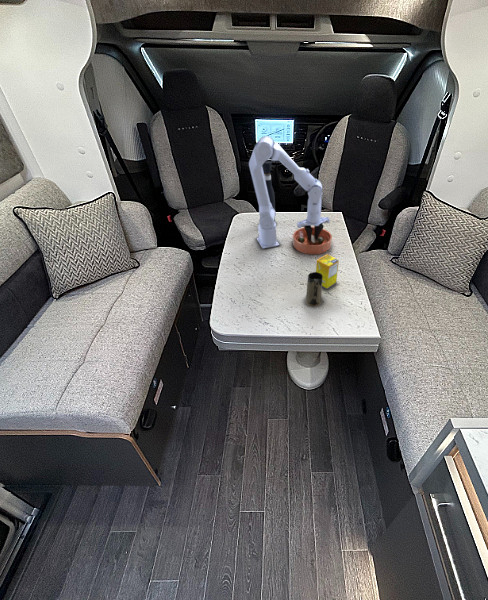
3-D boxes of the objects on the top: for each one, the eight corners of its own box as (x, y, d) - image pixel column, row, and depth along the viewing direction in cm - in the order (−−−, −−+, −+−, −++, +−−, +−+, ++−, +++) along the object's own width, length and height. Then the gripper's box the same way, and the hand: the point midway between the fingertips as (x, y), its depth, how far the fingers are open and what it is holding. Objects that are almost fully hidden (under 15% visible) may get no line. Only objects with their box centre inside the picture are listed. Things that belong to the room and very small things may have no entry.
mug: (305, 296, 125) (307, 268, 117) (320, 296, 125) (322, 269, 117) (306, 310, 119) (308, 282, 111) (322, 310, 119) (324, 282, 111)
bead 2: (315, 240, 154) (315, 238, 151) (321, 237, 154) (321, 235, 151) (319, 246, 154) (319, 244, 151) (324, 242, 154) (324, 240, 151)
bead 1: (297, 243, 152) (296, 238, 154) (302, 245, 154) (302, 240, 155) (300, 239, 150) (299, 234, 152) (306, 241, 152) (305, 236, 153)
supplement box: (324, 277, 134) (326, 253, 127) (336, 284, 131) (339, 259, 124) (314, 283, 131) (316, 259, 124) (326, 290, 128) (328, 266, 121)
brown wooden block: (306, 240, 155) (307, 235, 154) (312, 239, 156) (312, 234, 155) (313, 248, 150) (313, 242, 149) (318, 246, 151) (318, 241, 150)
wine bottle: (270, 228, 166) (268, 165, 147) (259, 224, 168) (256, 162, 149) (277, 223, 170) (276, 161, 151) (267, 220, 173) (265, 158, 154)
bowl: (287, 239, 158) (287, 230, 155) (321, 233, 162) (321, 224, 160) (301, 257, 145) (301, 248, 142) (337, 250, 150) (338, 241, 147)
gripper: (301, 217, 139) (300, 246, 147) (333, 212, 143) (331, 240, 151) (295, 210, 144) (294, 239, 152) (326, 205, 148) (324, 233, 156)
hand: (312, 239), depth 152 cm, fingers closed on brown wooden block, 2 cm apart
